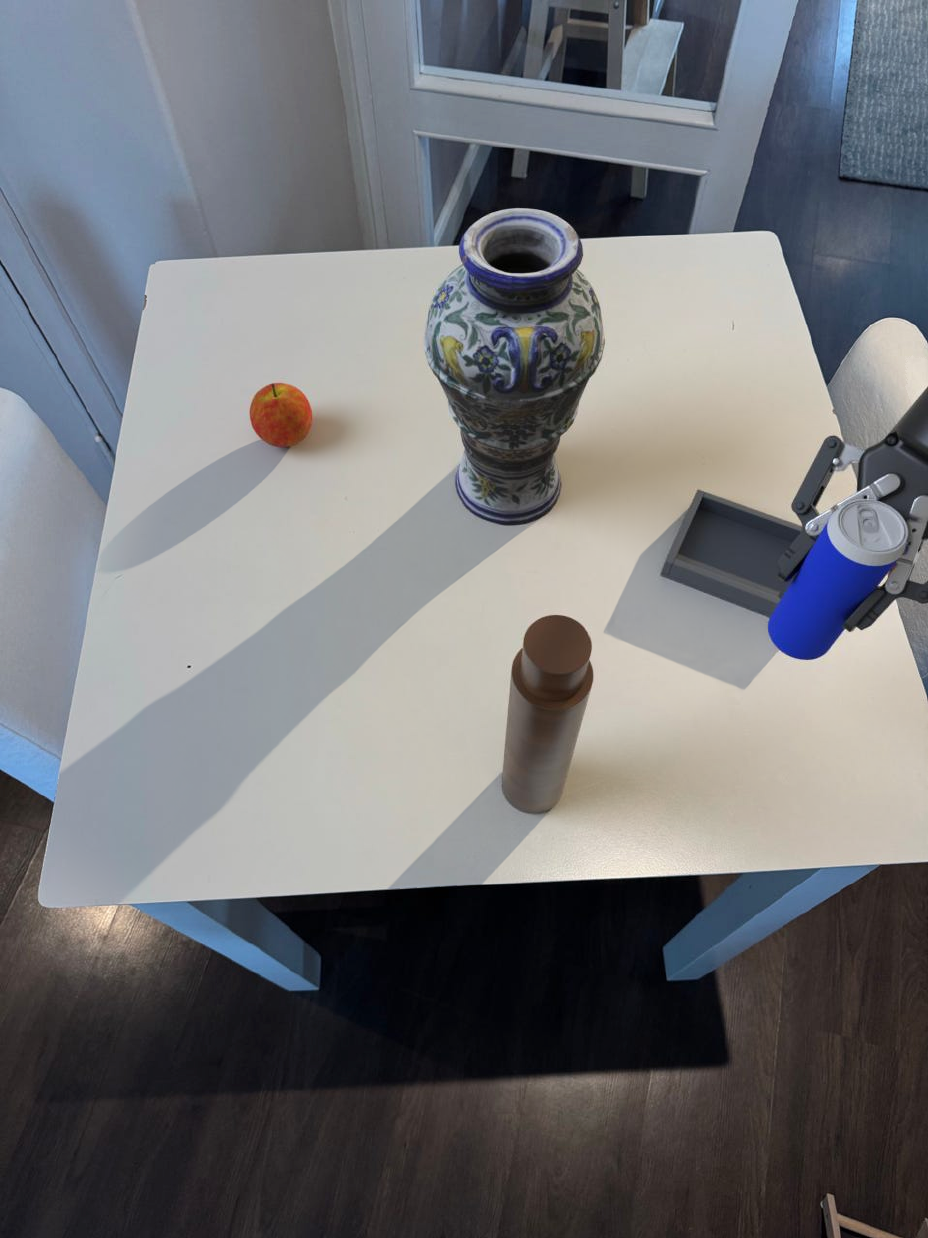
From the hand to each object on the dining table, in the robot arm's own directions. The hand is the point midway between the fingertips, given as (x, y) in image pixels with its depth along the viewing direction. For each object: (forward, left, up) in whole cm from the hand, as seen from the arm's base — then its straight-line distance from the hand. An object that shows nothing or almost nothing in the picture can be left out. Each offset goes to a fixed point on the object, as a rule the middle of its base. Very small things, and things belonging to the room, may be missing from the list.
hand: (815, 602), depth 62 cm
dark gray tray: (+5, -17, -20) cm, 27 cm away
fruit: (+58, -11, -20) cm, 62 cm away
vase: (+32, -16, -20) cm, 41 cm away
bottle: (+15, +15, -20) cm, 29 cm away
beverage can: (-1, -2, -7) cm, 8 cm away
